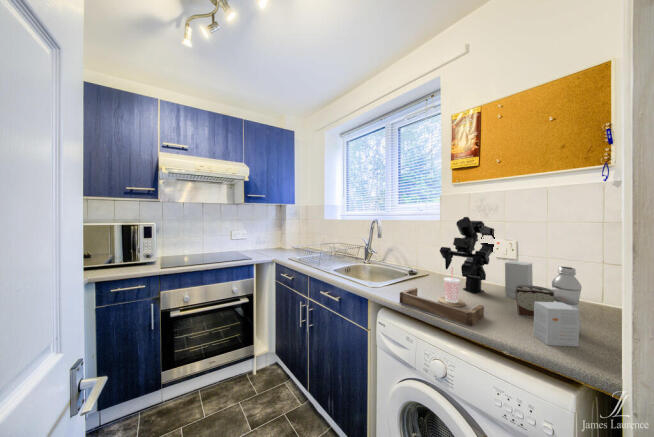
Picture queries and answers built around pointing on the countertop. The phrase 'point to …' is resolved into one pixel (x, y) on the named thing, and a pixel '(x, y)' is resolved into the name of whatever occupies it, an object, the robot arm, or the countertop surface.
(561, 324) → the small box
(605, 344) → the countertop surface
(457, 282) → the beverage cup
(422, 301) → the walnut bay
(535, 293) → the food container
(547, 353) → the countertop surface
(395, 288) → the countertop surface
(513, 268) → the skincare box
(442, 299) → the cork coaster
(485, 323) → the countertop surface
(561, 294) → the plastic bottle
